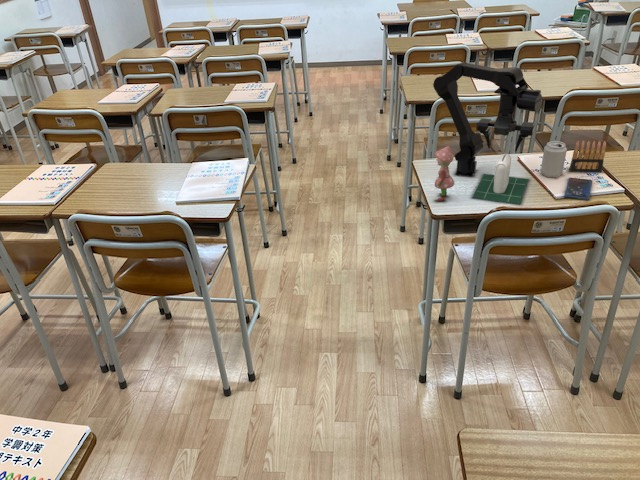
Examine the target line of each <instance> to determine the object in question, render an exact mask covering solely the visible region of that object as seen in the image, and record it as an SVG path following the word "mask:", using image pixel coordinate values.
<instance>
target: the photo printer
mask: <svg viewBox="0 0 640 480" xmlns="http://www.w3.org/2000/svg"><path fill="white" fill-rule="evenodd" d="M511 166H512V156H511V154H510V153H502V154H500V156H499V157H498V159H497V160H496V163H495V171H494V175H495V177H494V187H493V191H494V192H495V193H498V194H501V193H504V192H505V190H506V188H507V185H508V182H509V177H510V175H511V168H512V167H511Z"/></svg>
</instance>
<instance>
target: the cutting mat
mask: <svg viewBox="0 0 640 480" xmlns="http://www.w3.org/2000/svg"><path fill="white" fill-rule="evenodd" d="M494 177H495V174H487V173H484V174H483V175H482V177H481V179H480V181H479V183H478V185H477V187H476V189H475V191H474V193H473V195H472V197H471V198H472V199H475V200H483V201H490V202H498V203H506V204H512V205H521V203H522V200H523V198H524V195H525V191H526V188H527V185H528V182H529V178H522V177H515V176H509V182H508V185H507V188H506V190H505V192H504V193H501V194H498V193H495V192H494V191H493V187H494Z"/></svg>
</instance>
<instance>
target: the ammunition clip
mask: <svg viewBox="0 0 640 480" xmlns="http://www.w3.org/2000/svg"><path fill="white" fill-rule="evenodd" d="M585 143H586V145H585ZM601 144H602V145H601ZM606 148H607V141H606V140H604V141H603V143H602V142H601V140H598V142H597V144H596V140H593V142H592V144H591V141H590V140H588V141H587V142H585V140H582V142H581V144H580V141H579V140H577V141H576V143H575V146H574V150H573V152H572V157H571V161H570V164H569V169H568V170H569V172H570V173H602V172H603V166H604V161H605V155H606Z"/></svg>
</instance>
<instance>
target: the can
mask: <svg viewBox="0 0 640 480" xmlns="http://www.w3.org/2000/svg"><path fill="white" fill-rule="evenodd" d="M566 145H567V144H566V143H565V142H562V141H559V140H553V141H549V142H547V143H546V145H544V148H543V152H542V153H543V154H542V160H541V165H540V173H541V174H542V175H543V176H544V177H546V178H558V177H560V176H561V175H562V174H563V172H564V166H565V161H566V156H567V151H568V148H567V146H566Z"/></svg>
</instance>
